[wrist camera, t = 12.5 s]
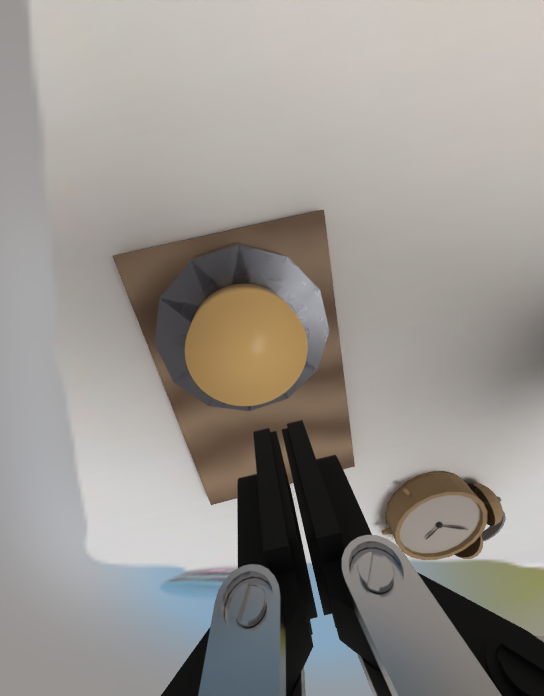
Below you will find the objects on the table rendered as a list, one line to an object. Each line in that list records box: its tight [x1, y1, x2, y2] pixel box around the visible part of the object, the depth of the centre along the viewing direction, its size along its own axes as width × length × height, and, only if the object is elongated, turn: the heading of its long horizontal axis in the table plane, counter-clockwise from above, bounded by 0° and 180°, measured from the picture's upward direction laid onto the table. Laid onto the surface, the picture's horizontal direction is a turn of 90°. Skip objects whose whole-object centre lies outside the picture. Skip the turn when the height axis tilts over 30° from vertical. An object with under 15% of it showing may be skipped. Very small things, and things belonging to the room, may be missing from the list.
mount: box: [113, 210, 355, 505], centre depth 28 cm, size 26×16×1 cm, turn 12°
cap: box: [185, 283, 308, 406], centre depth 22 cm, size 8×8×7 cm
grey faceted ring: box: [155, 242, 329, 411], centre depth 23 cm, size 12×12×4 cm
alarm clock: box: [382, 472, 505, 560], centre depth 38 cm, size 11×5×15 cm
